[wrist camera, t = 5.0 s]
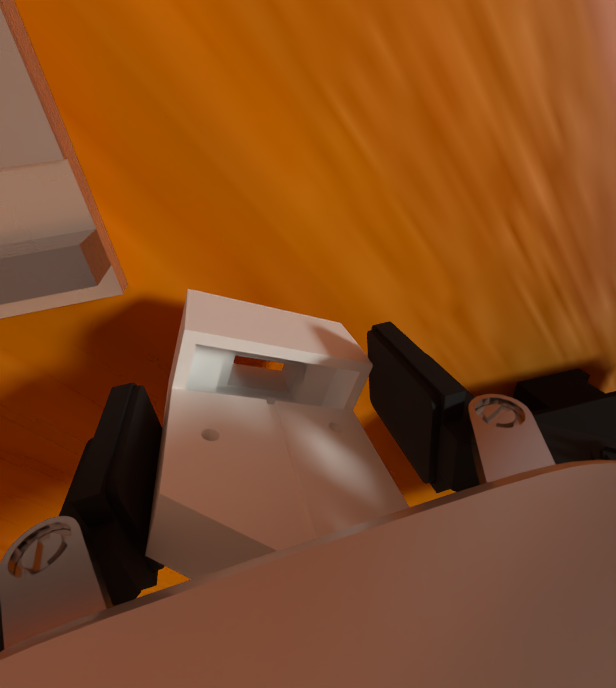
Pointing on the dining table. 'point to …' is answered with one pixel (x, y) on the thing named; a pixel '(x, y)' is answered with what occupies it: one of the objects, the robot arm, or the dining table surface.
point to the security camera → (570, 403)
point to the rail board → (43, 194)
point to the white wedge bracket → (261, 438)
